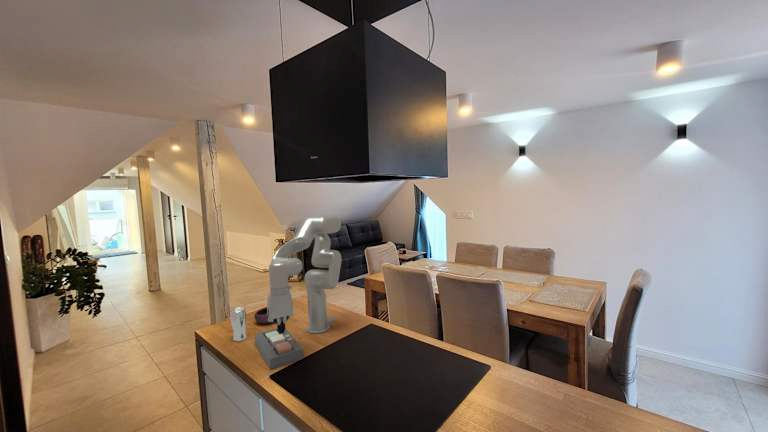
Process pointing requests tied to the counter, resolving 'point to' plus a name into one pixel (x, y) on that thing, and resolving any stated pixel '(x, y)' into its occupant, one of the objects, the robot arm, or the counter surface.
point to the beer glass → (238, 323)
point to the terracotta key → (283, 348)
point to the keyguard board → (271, 355)
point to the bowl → (261, 316)
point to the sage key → (271, 334)
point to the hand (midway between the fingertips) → (281, 332)
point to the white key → (276, 340)
